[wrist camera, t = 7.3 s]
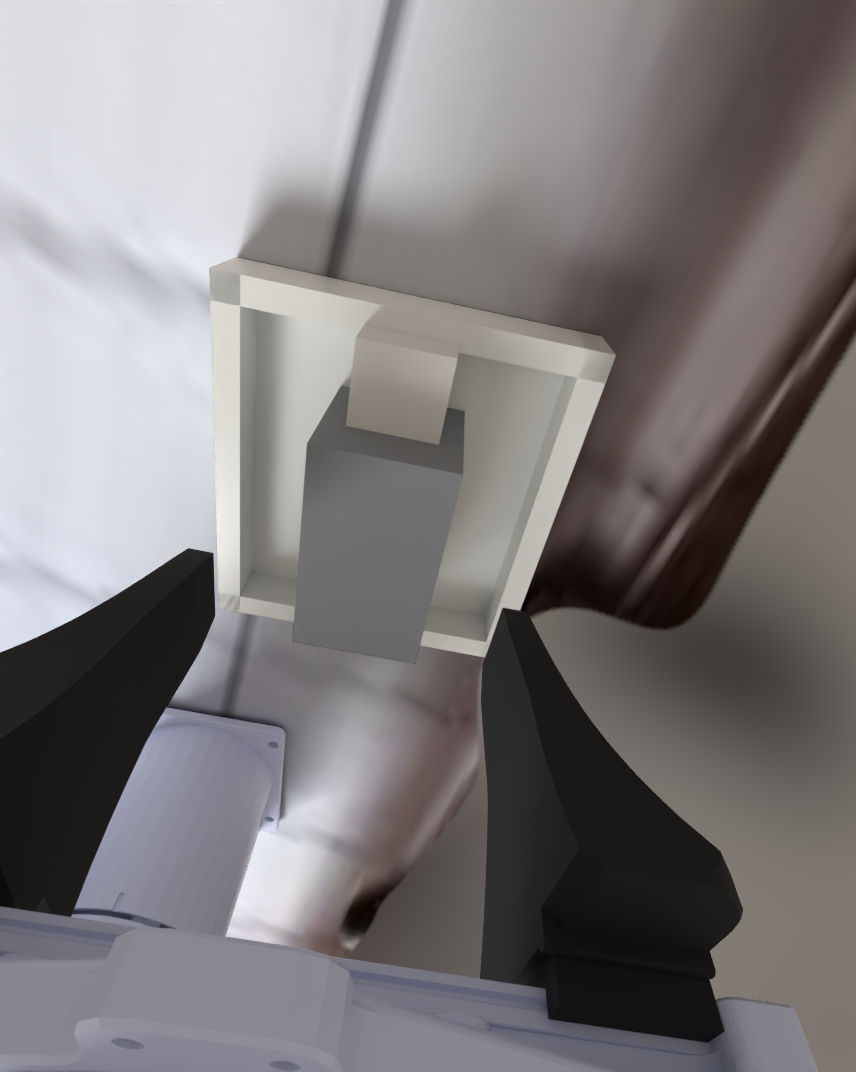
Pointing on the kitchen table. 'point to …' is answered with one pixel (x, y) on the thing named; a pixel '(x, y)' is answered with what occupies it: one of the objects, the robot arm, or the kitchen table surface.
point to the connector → (380, 498)
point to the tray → (478, 389)
